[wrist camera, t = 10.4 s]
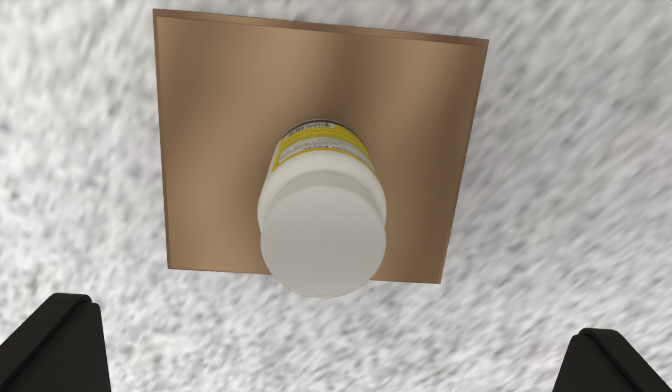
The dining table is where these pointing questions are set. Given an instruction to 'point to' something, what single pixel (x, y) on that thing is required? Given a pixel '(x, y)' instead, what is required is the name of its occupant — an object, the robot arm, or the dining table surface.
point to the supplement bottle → (322, 211)
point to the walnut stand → (302, 105)
